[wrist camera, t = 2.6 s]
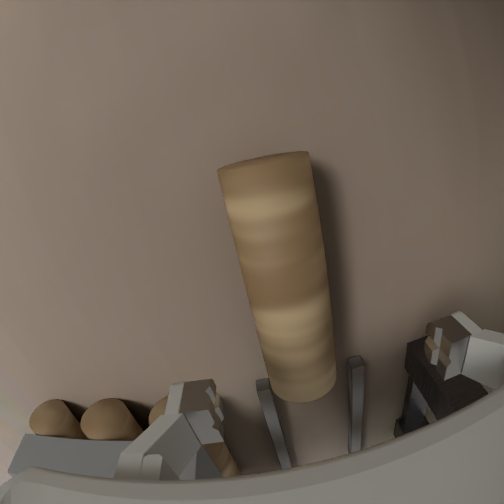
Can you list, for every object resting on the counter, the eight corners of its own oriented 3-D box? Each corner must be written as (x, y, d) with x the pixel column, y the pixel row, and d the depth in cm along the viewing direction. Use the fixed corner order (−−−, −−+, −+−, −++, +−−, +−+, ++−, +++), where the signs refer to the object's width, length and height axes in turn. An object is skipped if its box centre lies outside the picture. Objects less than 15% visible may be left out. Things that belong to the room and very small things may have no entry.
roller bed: (40, 399, 19) (23, 431, 16) (359, 355, 19) (380, 395, 15) (107, 475, 23) (100, 503, 20) (356, 448, 23) (368, 480, 19)
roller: (232, 162, 15) (203, 176, 11) (311, 148, 14) (305, 158, 10) (276, 357, 19) (264, 402, 16) (337, 354, 18) (335, 401, 15)
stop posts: (407, 343, 19) (457, 414, 12) (437, 332, 19) (490, 396, 12) (393, 434, 23) (419, 492, 16) (417, 424, 23) (446, 479, 16)
